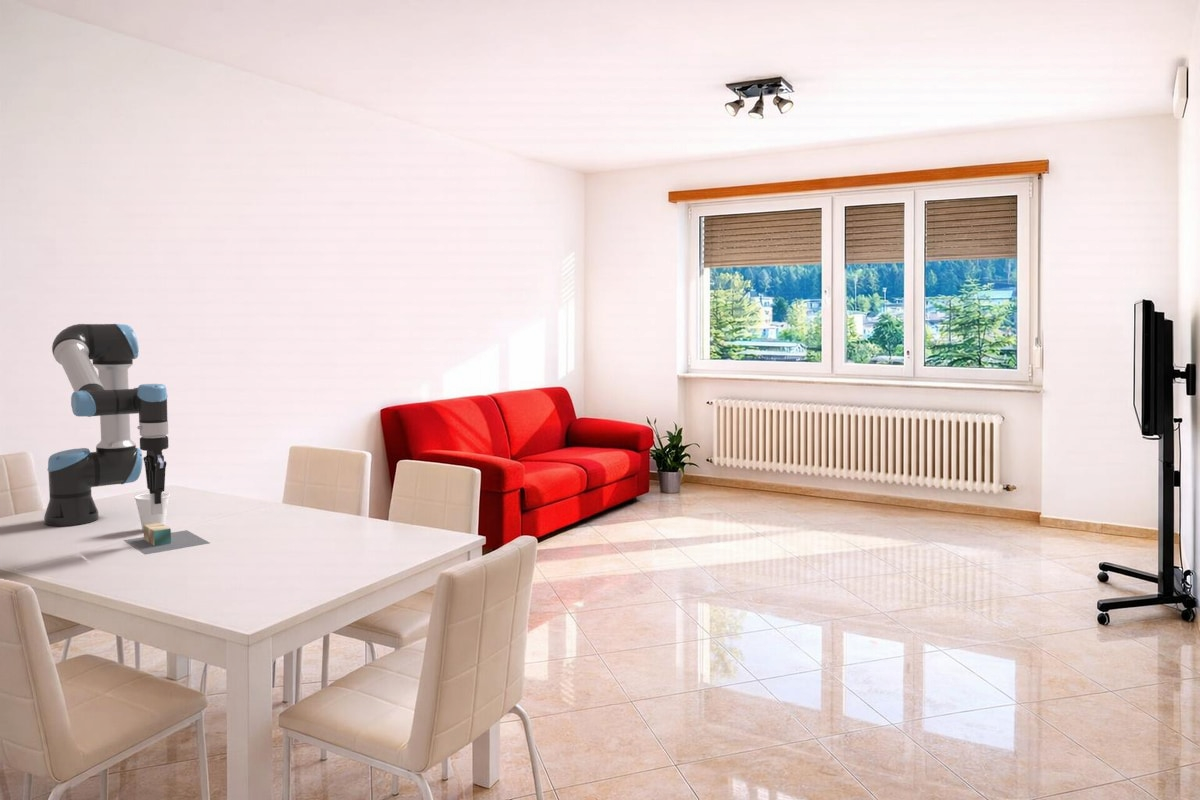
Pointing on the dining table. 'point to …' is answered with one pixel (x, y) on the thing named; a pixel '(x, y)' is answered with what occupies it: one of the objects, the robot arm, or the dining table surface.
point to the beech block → (157, 534)
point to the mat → (177, 542)
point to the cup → (145, 509)
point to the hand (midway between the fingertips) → (156, 513)
